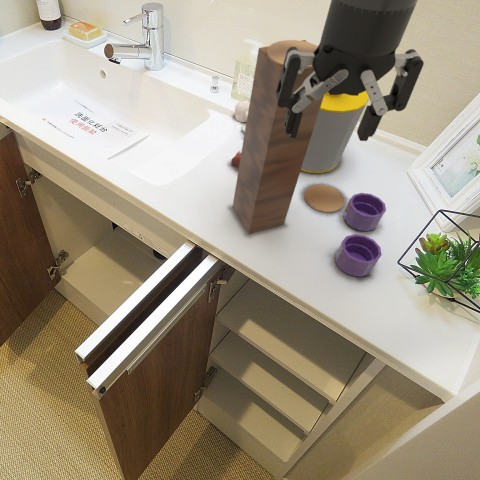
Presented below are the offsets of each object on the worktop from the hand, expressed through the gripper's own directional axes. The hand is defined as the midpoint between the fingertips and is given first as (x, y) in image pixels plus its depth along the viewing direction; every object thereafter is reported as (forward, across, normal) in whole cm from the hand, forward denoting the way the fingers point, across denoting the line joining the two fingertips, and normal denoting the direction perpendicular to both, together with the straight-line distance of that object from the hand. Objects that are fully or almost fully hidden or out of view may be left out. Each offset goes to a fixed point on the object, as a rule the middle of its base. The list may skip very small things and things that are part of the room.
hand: (326, 136), depth 51 cm
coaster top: (-6, -4, +9) cm, 12 cm away
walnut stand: (+24, -4, +9) cm, 26 cm away
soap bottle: (+24, +8, +28) cm, 38 cm away
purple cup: (+24, +14, +9) cm, 30 cm away
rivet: (+24, -3, +32) cm, 40 cm away
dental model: (+24, -4, +24) cm, 35 cm away
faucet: (+26, -1, +34) cm, 43 cm away
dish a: (+24, +11, -1) cm, 27 cm away
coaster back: (+24, +9, +15) cm, 30 cm away
